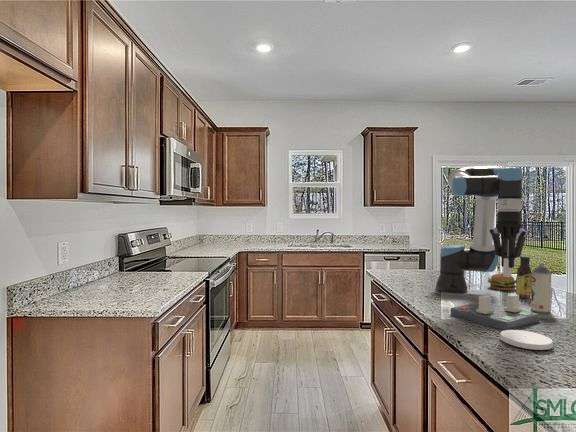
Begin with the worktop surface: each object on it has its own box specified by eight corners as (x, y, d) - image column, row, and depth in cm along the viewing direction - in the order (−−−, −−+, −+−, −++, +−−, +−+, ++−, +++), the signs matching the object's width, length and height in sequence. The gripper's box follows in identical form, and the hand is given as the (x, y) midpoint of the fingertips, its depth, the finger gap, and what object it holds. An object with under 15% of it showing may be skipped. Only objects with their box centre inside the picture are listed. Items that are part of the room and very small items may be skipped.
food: (481, 287, 210) (481, 272, 210) (498, 285, 216) (499, 271, 216) (505, 292, 197) (505, 276, 197) (522, 290, 203) (523, 275, 203)
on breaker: (503, 310, 149) (504, 294, 149) (510, 308, 151) (511, 293, 151) (514, 312, 145) (514, 296, 145) (521, 310, 148) (521, 295, 148)
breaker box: (450, 315, 152) (450, 307, 152) (482, 308, 164) (482, 300, 164) (507, 330, 133) (507, 321, 133) (538, 321, 145) (538, 313, 145)
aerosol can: (530, 308, 165) (531, 262, 165) (549, 310, 161) (551, 263, 161) (531, 312, 159) (532, 263, 159) (551, 314, 156) (552, 265, 155)
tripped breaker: (476, 311, 146) (476, 296, 146) (483, 310, 148) (483, 294, 148) (486, 314, 142) (486, 298, 142) (493, 312, 145) (494, 296, 145)
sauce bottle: (526, 299, 182) (527, 257, 181) (513, 296, 187) (514, 256, 187) (534, 298, 185) (535, 257, 184) (521, 295, 190) (522, 255, 190)
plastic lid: (504, 334, 131) (505, 327, 131) (554, 344, 122) (554, 336, 122) (495, 345, 120) (496, 337, 120) (549, 357, 111) (550, 348, 111)
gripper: (485, 210, 141) (483, 274, 142) (522, 211, 130) (521, 280, 131) (496, 210, 145) (495, 272, 146) (533, 211, 134) (532, 278, 135)
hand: (507, 276), depth 138 cm, fingers closed
